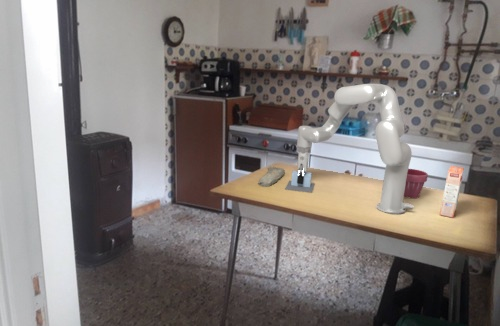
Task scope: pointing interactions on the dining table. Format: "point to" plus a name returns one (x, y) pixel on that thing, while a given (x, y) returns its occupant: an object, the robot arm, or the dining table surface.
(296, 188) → the mat
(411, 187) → the plant pot
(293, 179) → the pale blue upright box
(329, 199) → the dining table surface
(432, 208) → the dining table surface
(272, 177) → the elongated rough stone
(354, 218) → the dining table surface
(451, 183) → the cracker box
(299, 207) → the dining table surface
